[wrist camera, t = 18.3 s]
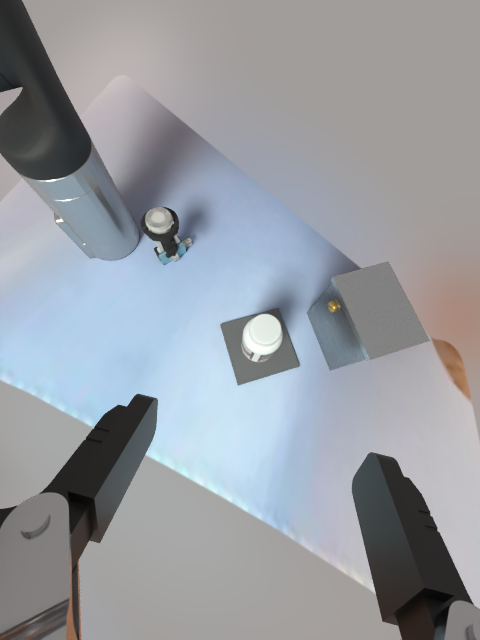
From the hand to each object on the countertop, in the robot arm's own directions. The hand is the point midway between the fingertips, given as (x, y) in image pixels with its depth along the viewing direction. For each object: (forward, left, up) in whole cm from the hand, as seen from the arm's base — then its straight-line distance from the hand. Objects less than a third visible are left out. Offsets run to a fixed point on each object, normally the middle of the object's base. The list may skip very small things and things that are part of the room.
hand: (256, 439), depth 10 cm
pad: (+6, +9, -31) cm, 32 cm away
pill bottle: (+6, +9, -30) cm, 32 cm away
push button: (-3, +29, -31) cm, 42 cm away
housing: (+19, +7, -31) cm, 37 cm away
